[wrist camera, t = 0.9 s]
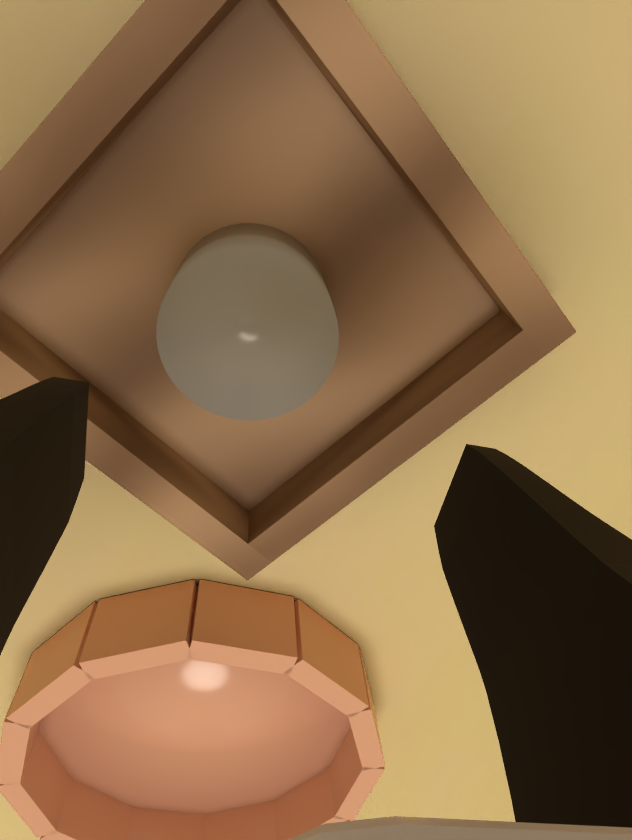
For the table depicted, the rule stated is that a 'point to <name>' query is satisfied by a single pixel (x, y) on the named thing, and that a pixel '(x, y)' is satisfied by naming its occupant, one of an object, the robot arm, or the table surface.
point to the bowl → (191, 721)
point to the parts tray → (273, 206)
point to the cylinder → (248, 324)
